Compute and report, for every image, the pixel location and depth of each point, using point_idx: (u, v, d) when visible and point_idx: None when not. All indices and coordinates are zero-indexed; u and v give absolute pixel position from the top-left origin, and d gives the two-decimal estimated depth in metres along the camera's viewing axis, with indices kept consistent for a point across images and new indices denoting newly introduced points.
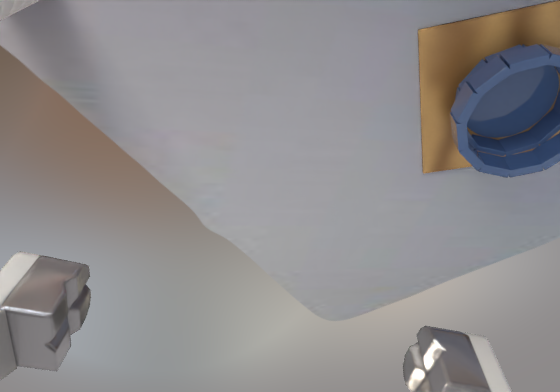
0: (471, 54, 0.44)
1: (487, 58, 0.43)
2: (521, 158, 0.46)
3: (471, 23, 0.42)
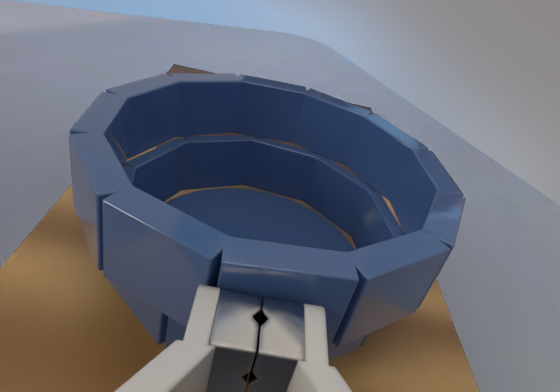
0: (77, 322, 0.14)
1: None
2: (406, 200, 0.17)
3: None
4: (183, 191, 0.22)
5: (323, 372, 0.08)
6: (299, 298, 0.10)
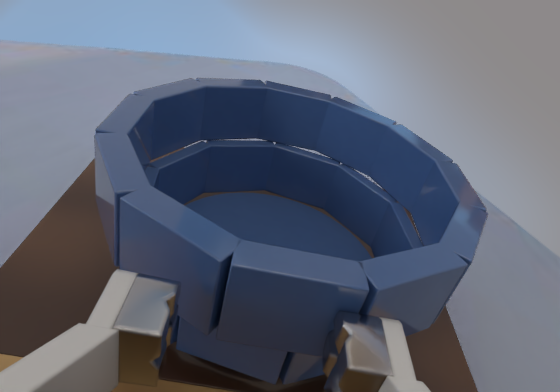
0: None
1: None
2: (428, 212, 0.17)
3: None
4: None
5: (413, 387, 0.08)
6: (307, 305, 0.10)
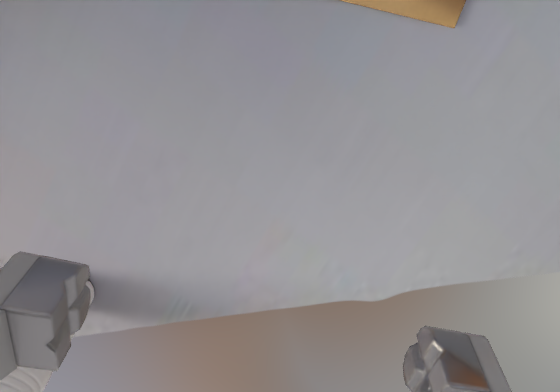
0: None
1: None
2: None
3: None
4: None
5: None
6: None
